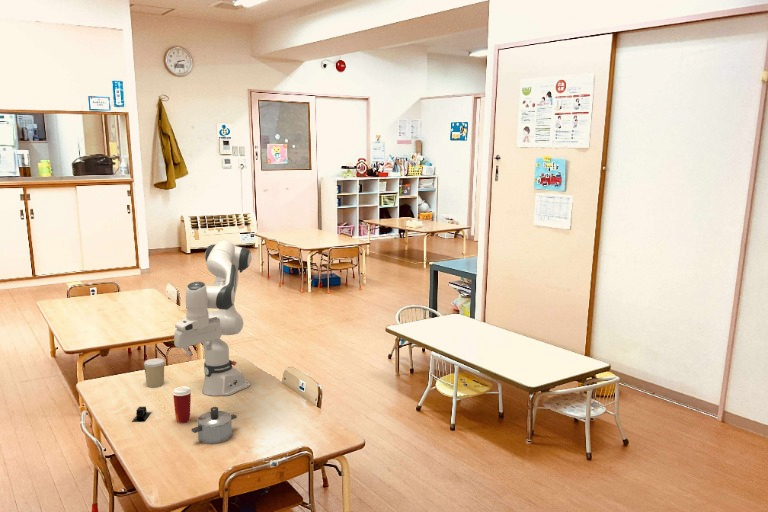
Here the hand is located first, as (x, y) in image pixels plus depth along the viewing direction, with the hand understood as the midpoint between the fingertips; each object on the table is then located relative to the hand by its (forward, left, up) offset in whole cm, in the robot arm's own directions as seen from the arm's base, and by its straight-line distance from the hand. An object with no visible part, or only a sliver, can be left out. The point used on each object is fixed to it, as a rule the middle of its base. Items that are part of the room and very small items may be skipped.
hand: (199, 352), depth 248 cm
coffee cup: (-4, -50, -30) cm, 58 cm away
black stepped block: (+17, -20, -31) cm, 40 cm away
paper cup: (+6, -5, -30) cm, 31 cm away
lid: (+4, +17, -23) cm, 29 cm away
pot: (+4, +17, -30) cm, 35 cm away
